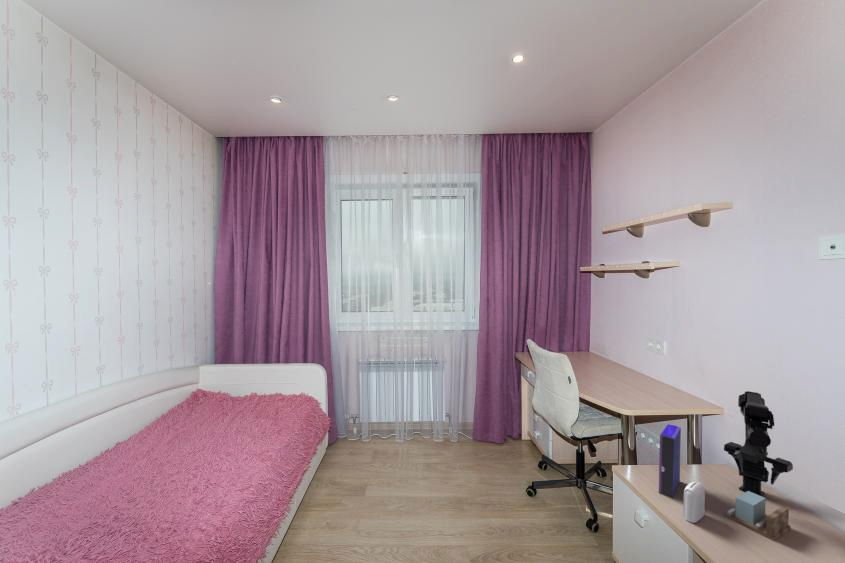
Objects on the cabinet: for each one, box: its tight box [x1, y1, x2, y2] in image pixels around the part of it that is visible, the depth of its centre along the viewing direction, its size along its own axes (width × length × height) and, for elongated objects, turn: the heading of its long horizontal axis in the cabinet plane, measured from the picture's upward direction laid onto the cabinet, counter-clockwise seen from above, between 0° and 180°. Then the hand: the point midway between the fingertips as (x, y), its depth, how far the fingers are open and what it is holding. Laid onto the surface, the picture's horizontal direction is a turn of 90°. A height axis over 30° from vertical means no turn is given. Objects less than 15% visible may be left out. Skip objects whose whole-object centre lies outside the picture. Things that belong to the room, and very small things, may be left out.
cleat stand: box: [722, 505, 791, 541], centre depth 127 cm, size 14×14×7 cm
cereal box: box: [658, 424, 682, 499], centre depth 148 cm, size 17×5×24 cm, turn 136°
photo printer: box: [682, 481, 706, 524], centre depth 129 cm, size 10×4×12 cm, turn 123°
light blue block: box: [735, 491, 767, 525], centre depth 128 cm, size 10×5×7 cm, turn 117°
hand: (756, 478), depth 135 cm, fingers open, 9 cm apart
